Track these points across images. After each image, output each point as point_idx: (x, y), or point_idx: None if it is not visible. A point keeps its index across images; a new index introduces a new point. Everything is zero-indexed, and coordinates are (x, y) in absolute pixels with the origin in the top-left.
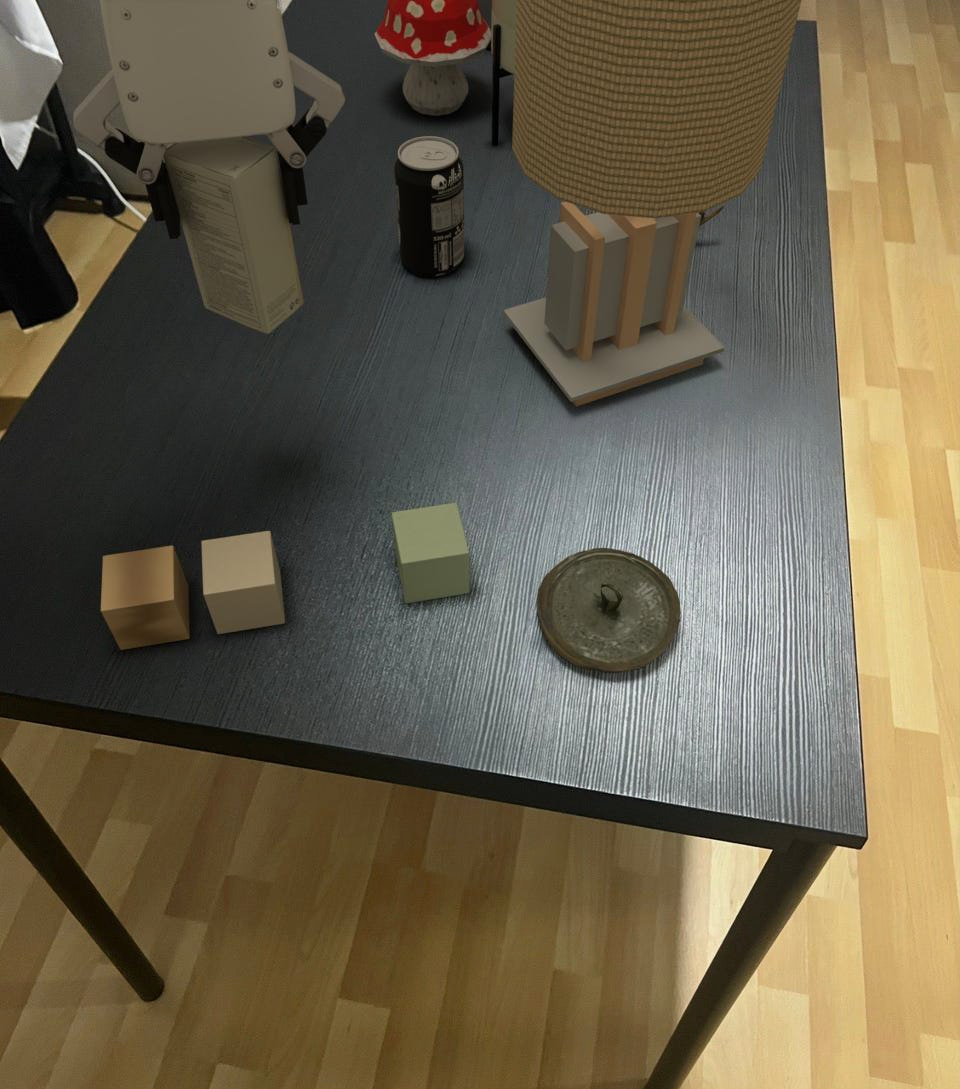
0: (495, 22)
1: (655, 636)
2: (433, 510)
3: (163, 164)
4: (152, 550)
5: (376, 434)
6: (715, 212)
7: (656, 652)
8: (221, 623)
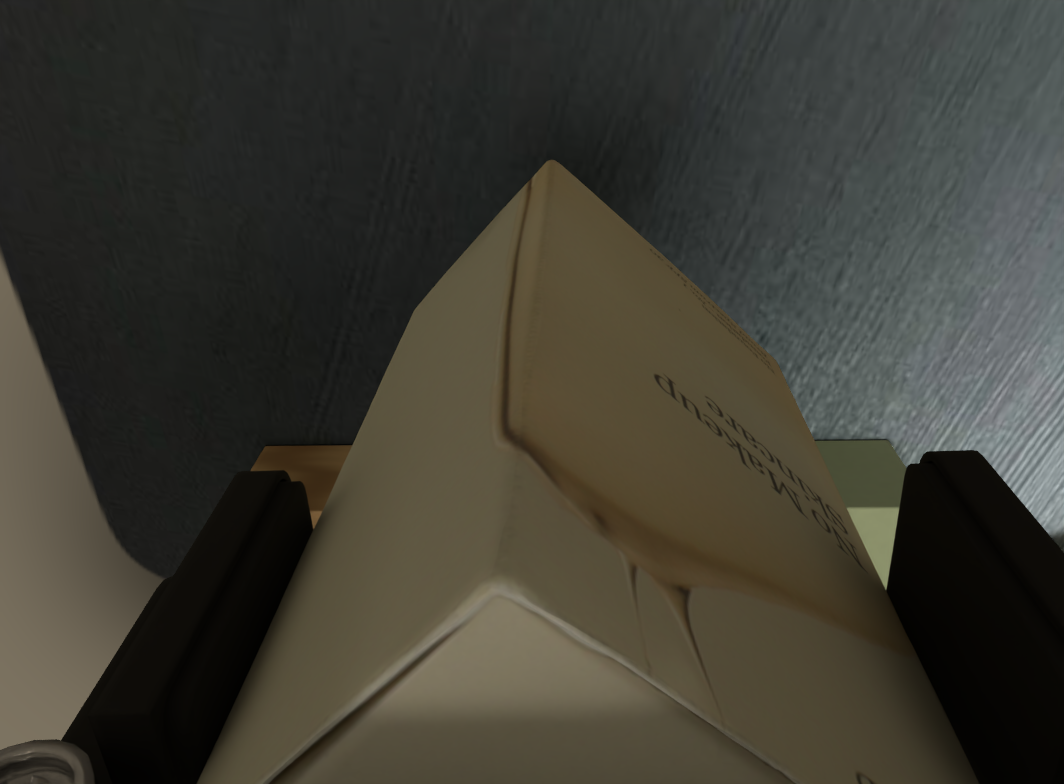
0: None
1: None
2: (878, 518)
3: (171, 755)
4: (318, 515)
5: (809, 100)
6: None
7: None
8: None
